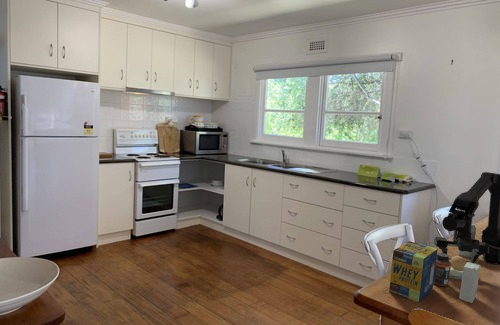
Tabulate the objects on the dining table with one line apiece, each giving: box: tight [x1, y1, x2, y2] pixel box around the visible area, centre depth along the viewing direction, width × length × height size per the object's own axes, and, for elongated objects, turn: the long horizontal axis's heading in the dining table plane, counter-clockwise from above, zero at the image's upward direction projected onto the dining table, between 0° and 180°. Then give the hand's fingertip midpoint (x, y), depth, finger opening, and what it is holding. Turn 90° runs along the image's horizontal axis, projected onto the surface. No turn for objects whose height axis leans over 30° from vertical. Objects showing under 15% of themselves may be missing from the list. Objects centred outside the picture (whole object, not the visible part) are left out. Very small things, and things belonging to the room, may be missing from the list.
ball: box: [450, 255, 467, 271], centre depth 153 cm, size 6×6×6 cm
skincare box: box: [458, 262, 481, 304], centre depth 131 cm, size 6×4×12 cm
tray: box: [449, 260, 480, 283], centre depth 153 cm, size 12×12×3 cm
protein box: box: [388, 240, 439, 303], centre depth 136 cm, size 10×15×16 cm
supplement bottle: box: [433, 252, 451, 287], centre depth 143 cm, size 6×6×11 cm
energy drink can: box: [457, 222, 477, 258], centre depth 174 cm, size 6×6×15 cm
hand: (458, 265), depth 153 cm, fingers open, 9 cm apart
